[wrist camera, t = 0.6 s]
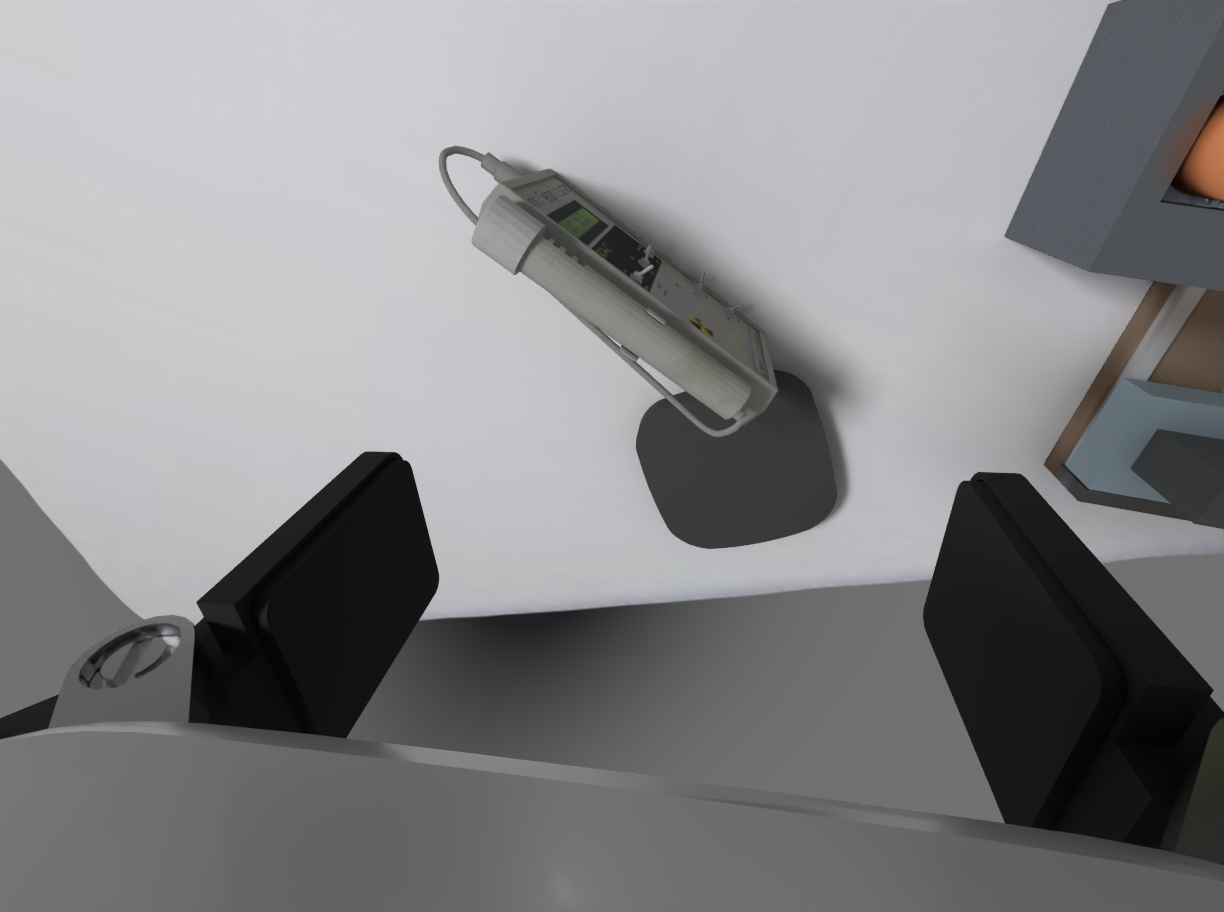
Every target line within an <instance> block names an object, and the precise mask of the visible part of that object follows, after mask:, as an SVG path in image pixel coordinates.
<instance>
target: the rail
mask: <svg viewBox="0 0 1224 912" xmlns="http://www.w3.org/2000/svg"><path fill="white" fill-rule="evenodd" d="M1122 377H1124V378H1131V379H1137V380H1143V381H1149V382H1155V383H1162V384H1168V385H1174V386H1180V387H1187V388H1193V389H1199V390H1205V391H1211V392H1218V393H1224V291H1219V290H1212V289H1205V288H1198V287H1191V286H1185V285H1178V284H1171V283H1164V282H1158V281H1154V282H1153V284H1152V286H1151V287H1150V289H1149V291H1148V292H1147V294H1146V295H1145V297H1144V299H1143V300H1142V302H1141V304H1140V305H1139V307H1138V309H1137V310H1136V312H1135V314H1134V315H1133V317H1132V319H1131V320H1130V322H1129V324H1128V325H1127V327H1126V329H1125V330H1124V332H1123V334H1122V335H1121V337H1120V339H1119V340H1118V342H1117V344H1116V345H1115V347H1114V349H1113V350H1112V352H1111V354H1110V355H1109V357H1108V359H1107V360H1106V362H1105V363H1104V365H1103V367H1102V368H1101V370H1100V372H1099V373H1098V375H1097V377H1096V378H1095V380H1094V382H1093V383H1092V385H1091V387H1090V388H1089V390H1088V392H1087V393H1086V395H1085V397H1084V398H1083V400H1082V402H1081V403H1080V405H1079V407H1078V408H1077V410H1076V412H1075V413H1074V415H1073V417H1072V418H1071V420H1070V422H1069V423H1068V425H1067V427H1066V428H1065V430H1064V431H1063V433H1062V435H1061V436H1060V438H1059V440H1058V441H1057V443H1056V445H1055V446H1054V448H1053V450H1052V451H1051V453H1050V455H1049V456H1048V458H1047V460H1046V461H1045V463H1044V465H1045V466H1046V467H1047V469H1048V470H1049V471H1050V472H1051V473H1052V474H1053V475H1054V476H1055V477H1056V478H1057V479H1058V480H1059V481H1060V482H1061V483H1062V485H1063V486H1064V487H1065V488H1066V489H1067V490H1068V491H1069V492H1070V493H1071V494H1072V495H1073V496H1074V497H1075V498H1076V499H1077V501H1081V502H1086V503H1092V504H1098V505H1103V506H1109V507H1115V508H1120V509H1126V510H1131V511H1137V512H1143V513H1148V514H1154V515H1160V516H1165V517H1171V518H1176V519H1182V520H1188V521H1191V520H1190V519H1188V518H1187V517H1186V516H1185V515H1184V514H1182V513H1181V512H1180V511H1179V510H1178V509H1177V508H1175V507H1174V506H1173V505H1172V504H1170V503H1164V502H1158V501H1153V500H1147V499H1141V498H1136V497H1130V496H1124V495H1119V494H1113V493H1107V492H1102V491H1096V490H1090V489H1088V488H1087V487H1086V486H1085V485H1084V484H1083V483H1082V482H1081V481H1080V480H1079V479H1078V478H1077V477H1076V476H1075V475H1074V474H1073V473H1072V472H1071V471H1070V470H1069V469H1068V468H1067V467H1066V466H1067V465H1068V463H1069V461H1070V460H1071V458H1072V457H1073V455H1074V453H1075V452H1076V450H1077V449H1078V447H1079V445H1080V444H1081V442H1082V441H1083V439H1084V438H1085V436H1086V434H1087V433H1088V431H1089V430H1090V428H1091V426H1092V425H1093V423H1094V422H1095V420H1096V418H1097V417H1098V415H1099V414H1100V412H1101V411H1102V409H1103V407H1104V406H1105V404H1106V403H1107V401H1108V399H1109V398H1110V396H1111V395H1112V393H1113V391H1114V390H1115V388H1116V387H1117V385H1118V383H1119V382H1120V380H1121V379H1122Z"/></svg>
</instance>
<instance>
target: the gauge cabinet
mask: <svg viewBox="0 0 1224 912" xmlns="http://www.w3.org/2000/svg"><path fill="white" fill-rule="evenodd" d="M1222 95H1224V0H1121V1H1118V2H1114V3H1111V4H1108V7H1107V9H1106V11H1105V13H1104V16H1103V18H1102V20H1101V22H1100V24H1099V27H1098V29H1097V31H1096V33H1095V36H1094V38H1093V40H1092V42H1091V45H1090V47H1089V49H1088V51H1087V53H1086V56H1085V58H1084V60H1083V62H1082V65H1081V67H1080V69H1079V71H1078V73H1077V76H1076V78H1075V80H1074V82H1073V85H1072V87H1071V89H1070V91H1069V93H1068V96H1067V98H1066V100H1065V102H1064V105H1063V107H1062V109H1061V111H1060V114H1059V116H1058V118H1057V120H1056V122H1055V125H1054V127H1053V129H1052V131H1051V134H1050V136H1049V138H1048V140H1047V142H1046V145H1045V147H1044V149H1043V151H1042V154H1041V156H1040V158H1039V160H1038V162H1037V165H1036V167H1035V169H1034V171H1033V174H1032V176H1031V178H1030V180H1029V183H1028V185H1027V187H1026V189H1025V191H1024V194H1023V196H1022V198H1021V200H1020V203H1019V205H1018V207H1017V209H1016V211H1015V214H1014V216H1013V218H1012V220H1011V223H1010V225H1009V227H1008V229H1007V231H1006V234H1005V236H1004V237H1007V238H1009V239H1012V240H1014V241H1017V242H1019V243H1021V244H1024V245H1026V246H1029V247H1031V248H1034V249H1036V250H1038V251H1041V252H1043V253H1046V254H1048V255H1050V256H1053V257H1055V258H1058V259H1060V260H1063V261H1065V262H1067V263H1070V264H1072V265H1075V266H1077V267H1079V268H1082V269H1084V270H1087V271H1090V272H1097V273H1103V274H1110V275H1117V276H1124V277H1130V278H1137V279H1144V280H1151V281H1158V282H1164V283H1171V284H1178V285H1185V286H1191V287H1198V288H1205V289H1212V290H1219V291H1224V201H1221V200H1215V199H1209V198H1203V197H1196V196H1190V195H1186V194H1183V193H1180V192H1179V191H1177V190H1175V189H1174V188H1173V187H1172V186H1171V185H1170V184H1171V182H1172V180H1173V178H1174V176H1175V175H1176V173H1177V171H1178V169H1179V168H1180V166H1181V164H1182V162H1183V161H1184V159H1185V157H1186V155H1187V154H1188V152H1189V150H1190V148H1191V147H1192V145H1193V143H1194V141H1195V139H1196V138H1197V136H1198V134H1199V132H1200V131H1201V129H1202V127H1203V125H1204V124H1205V122H1206V120H1207V118H1208V117H1209V115H1210V113H1211V111H1212V110H1213V108H1214V106H1215V104H1216V102H1217V101H1218V99H1219V97H1220V96H1222Z"/></svg>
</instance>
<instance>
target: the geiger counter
mask: <svg viewBox="0 0 1224 912" xmlns="http://www.w3.org/2000/svg"><path fill="white" fill-rule="evenodd" d="M453 154H462V155H466V156H469V157H472V158H474V159H477V160H479V161H481V167H482V168H483V169H485V170H486V171H487V172H489V173H490V174H492V175H493V176H494V179H495V180H496V181H497V182H499V183H498V185H497V186H496V187H495V188H494V189H493V191H492V192H491V193H490V194H489V196H488V197H487V198H486V199H485V201H484V202H483V203H482V207H481V211H480V214H479V218H478V217H477V216H476V215H475V214H474V213H473V212H472V211H471V210H470V208H469V207H468V206H467V205H466V204H465V202H464V201H463V200H462V198H461V197H460V195H459V194H458V192H457V191H456V189H455V188H454V186H453V184H452V182H451V180H450V178H449V175H448V172H447V167H446V159H447V157H448V156H450V155H453ZM439 170H440V173H441V176H442V179H443V182H444V184H445V186H446V188H447V190H448V191H449V193H450V195H451V196H452V198H453V199H454V201H455V202H456V204H457V205H458V206H459V208H460V209H461V210H462V211H463V212H464V214H465V215H466V216H467V217H468V218H469V219H470V220H471V221H472V222H473V223H474V224H475V225H476V228H475V230H474V233H473V236H472V244H473V245H474V246H475V247H476V248H477V249H479V250H480V251H482V252H483V253H484V254H486V255H487V256H489V257H490V258H491V259H493V260H494V261H496V262H497V263H498V264H500V265H501V266H503V267H504V268H505V269H507V270H508V271H510V272H511V273H512V274H514V275H516V274H517V273H518V272H521V273H523V274H524V275H526V276H527V277H528V278H530V279H531V280H533V281H534V282H535V283H537V284H538V285H540V286H541V287H542V288H544V289H545V290H546V291H548V292H549V293H550V294H551V295H552V296H553V297H555V298H556V299H557V300H558V301H559V302H560V303H561V304H562V305H563V306H565V307H566V308H567V309H568V310H569V311H570V312H571V313H572V314H573V315H574V316H576V317H577V318H578V319H579V320H580V321H581V322H582V323H583V324H584V325H586V326H587V327H588V328H589V329H590V330H591V331H592V332H593V333H594V334H596V335H597V336H598V337H599V338H600V339H601V340H602V341H603V342H604V343H605V344H607V345H608V346H609V347H610V348H611V349H612V350H613V351H614V352H615V353H617V354H618V355H619V356H620V357H621V358H622V359H623V360H624V361H625V362H626V363H628V364H629V365H630V366H631V367H632V368H633V369H634V370H635V371H636V372H638V373H639V374H640V375H641V376H642V377H643V378H644V379H645V380H646V381H648V382H649V383H650V384H651V385H652V386H653V387H654V388H655V389H656V390H657V391H659V392H660V393H661V394H662V395H663V396H664V397H665V398H666V399H667V400H669V401H670V402H671V403H672V404H673V405H674V406H675V407H676V408H677V409H679V410H680V411H681V412H682V413H683V414H684V415H685V416H686V417H687V418H688V419H690V420H691V421H692V422H693V423H694V424H695V425H696V426H698V427H699V428H700V429H701V430H703V431H704V432H706V433H707V434H709V435H711V436H715V437H723V436H728V435H730V434H732V433H734V432H735V431H737V430H738V429H739V428H740V427H741V426H742V425H746V424H747V423H749V422H750V421H751V420H753V419H754V418H756V417H757V416H758V415H760V414H761V413H763V412H764V411H765V410H766V408H767V407H768V405H769V404H770V402H771V401H772V399H773V398H774V396H775V395H776V393H777V392H778V388H777V384H776V379H775V375H774V371H773V366H772V362H771V358H770V353H769V349H768V345H767V340H766V336H765V333H764V332H762V331H761V330H760V329H759V328H757V327H756V326H755V325H753V324H752V323H751V322H749V321H748V320H747V319H746V318H744V317H743V316H742V315H740V314H739V313H738V312H736V311H735V309H737V308H739V307H741V306H743V305H744V302H741V303H740V304H738V305H736V306H735V307H733V308H732V307H730V306H729V305H727V304H726V303H725V302H723V301H722V300H721V299H719V298H718V297H717V296H716V295H714V294H713V293H712V292H710V291H709V290H708V289H706V288H705V287H704V286H702V284H701V283H702V280H703V278H704V275H705V272H702V273H701V277H700V280H699V282H697V281H696V280H695V279H693V278H692V277H691V276H689V275H688V274H687V273H686V272H684V271H683V270H682V269H680V268H679V267H678V266H676V265H675V264H674V263H672V262H671V261H670V260H669V259H667V258H666V257H665V256H663V255H662V254H661V253H659V252H658V251H657V250H655V249H654V248H653V247H654V244H655V240H656V236H653V239H652V243H651V245H649V244H648V243H646V242H645V241H644V240H642V239H641V238H640V237H639V236H637V235H636V234H635V233H633V232H632V231H631V230H629V229H628V228H627V227H625V226H624V225H623V224H622V223H620V222H619V221H618V220H616V219H615V218H614V217H612V216H611V215H610V214H609V213H607V212H606V211H605V210H603V209H602V208H601V207H599V206H598V205H597V204H595V203H594V202H593V201H592V200H590V199H589V198H588V197H586V196H585V195H584V194H582V193H581V192H580V191H579V190H577V189H576V188H575V187H573V186H572V185H571V184H569V183H568V182H567V181H565V180H564V179H563V178H562V177H560V176H559V175H558V174H556V173H555V172H554V171H552V170H551V169H546V170H542V171H539V172H535V173H531V174H528V175H524V176H523V175H522V174H520V173H519V172H518V171H516V170H515V169H514V168H513V167H511V166H510V165H509V164H507V163H506V162H505V161H503V162H501V161H500V160H498V159H497V158H496V157H494V156H493V155H492V154H490V153H487V154H486V155H482V154H480V153H478V152H476V151H474V150H471V149H468V148H465V147H460V146H453V147H449V148H446V149H444V150H443V151H442V152H441V153H440V156H439ZM600 329H601V330H602V331H603V332H605V333H606V334H607V335H609V336H610V337H612V338H613V339H614V340H616V341H617V342H619V343H620V344H621V348H620V347H619V346H618V345H617V344H616V343H614V342H613V341H612V340H611V339H610V338H609V337H608V336H607V335H606V334H605V333H603V332H602V331H601V330H600ZM638 358H641V359H642V360H644V361H645V362H646V363H648V364H649V365H650V366H652V367H653V368H655V369H656V370H657V371H659V372H660V373H662V374H663V375H664V376H666V377H667V378H668V379H670V380H671V381H673V382H674V383H675V384H677V385H678V386H680V387H681V388H682V389H684V390H685V391H687V392H688V393H689V394H691V395H692V396H693V397H695V398H696V399H698V400H699V401H700V402H702V403H703V404H705V405H706V406H707V407H709V408H710V409H711V410H713V411H714V412H716V413H717V414H718V415H720V416H721V417H723V418H724V419H726V420H727V419H730V418H731V417H733V418H734V419H735V420H737V422H736V423H735V424H734V425H732V426H730V427H728V428H727V429H723V430H714V429H712V428H710V427H708V426H707V425H706V424H704V423H703V422H702V421H700V420H699V419H698V418H697V417H696V416H695V415H694V414H693V413H692V412H690V411H689V410H688V409H687V408H686V407H685V406H684V405H683V404H682V403H681V402H680V401H678V400H677V399H676V398H675V397H674V396H673V395H672V394H671V393H670V392H668V391H667V390H666V389H665V388H664V387H663V386H662V385H661V384H660V383H659V382H657V381H656V380H655V379H654V378H653V377H652V376H651V375H650V374H649V373H648V372H646V371H645V370H644V369H643V368H642V367H641V366H640V365H639V364H638V363H637V362H635V361H637V360H638Z"/></svg>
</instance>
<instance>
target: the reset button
mask: <svg viewBox="0 0 1224 912" xmlns="http://www.w3.org/2000/svg"><path fill="white" fill-rule="evenodd" d="M1170 185H1171V186H1172V187H1173V188H1174V189H1175V190H1177V191H1179V192H1180V193H1183V194H1186V195H1190V196H1196V197H1203V198H1209V199H1215V200H1221V201H1224V95H1222V96H1220V97H1219V99H1218V101H1217V102H1216V104H1215V106H1214V108H1213V110H1212V111H1211V113H1210V115H1209V117H1208V118H1207V120H1206V122H1205V124H1204V125H1203V127H1202V129H1201V131H1200V132H1199V134H1198V136H1197V138H1196V139H1195V141H1194V143H1193V145H1192V147H1191V148H1190V150H1189V152H1188V154H1187V155H1186V157H1185V159H1184V161H1183V162H1182V164H1181V166H1180V168H1179V169H1178V171H1177V173H1176V175H1175V176H1174V178H1173V180H1172V182H1171V184H1170Z"/></svg>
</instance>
